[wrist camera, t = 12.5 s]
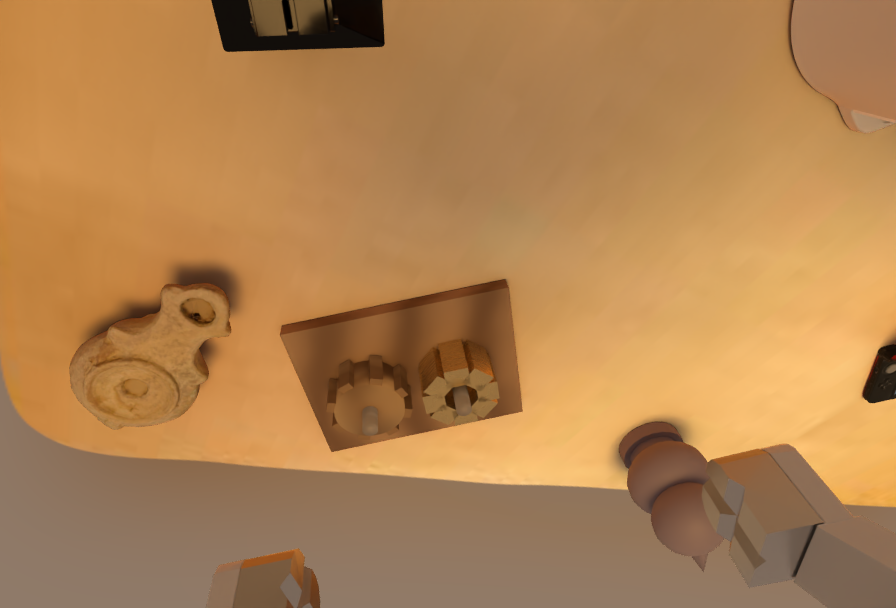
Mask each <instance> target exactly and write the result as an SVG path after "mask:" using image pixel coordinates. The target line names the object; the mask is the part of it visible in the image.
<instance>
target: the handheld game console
mask: <svg viewBox="0 0 896 608" xmlns="http://www.w3.org/2000/svg"><path fill="white" fill-rule="evenodd" d="M878 353H879V355H878V357H877V359H876V362H875V364H874V367H873V369H872V372H871V375H870V377H869V380H868V382H867V385H866V387H865V390H864V393H863V397H864V399H865V400H867V401H868V402H869V403H877V402H881V401H885V400H890V399H895V398H896V345H890V346H886V347H883V348H881V349H880V350H879V352H878Z"/></svg>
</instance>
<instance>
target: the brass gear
mask: <svg viewBox="0 0 896 608" xmlns="http://www.w3.org/2000/svg"><path fill="white" fill-rule="evenodd" d="M438 346H439V349H436V348H434V347H432V348H431V349H430V350H429V352H428V353H427V354H426V355H425V356H424V358H423V359H422V360H421V361H420V367H418V368H419V376H420V384H421V392H422V399H423V402H424V406H425V410H426V413H427V414H429V413H430V418H432V419H435V420H437V421H440V422H442V423H445V424H447V425H450V424H451V423H452V422H453V421H455V426H457V425H461V424H466V423H471V422H475V421H478V418H477V415H478V416H480V417H483V418H484V417H485V416H486V415H487V414H488V413H489V412H490V411H491V410H492V409H493V408H494V407H495V406H496V405H497V404H498V402H497V399H499V398H500V397H499V391H498V384H497V379H496V376H495V373H494V369H493V366H492V363H491V359H490V356H489V353H488V352H487V353H486V349H485V348H484V347H482V346H480V345H478V344H476V343H474V342H472V341H470V340H468V339H467V340H466V341H465V342H464V344H463V345H462V341H461V339H457V340H452V341H447V342H443V343H438ZM463 385H466V386H467V390H468V394H469V399H470V403H471V407H472V412H471V413H470V414H469V415H467V416H460V415H458V414H457V411H456V406H455V401H454V396H453V391H452V388H453V387H458V386H463Z"/></svg>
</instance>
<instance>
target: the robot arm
mask: <svg viewBox="0 0 896 608" xmlns="http://www.w3.org/2000/svg"><path fill="white" fill-rule="evenodd" d="M791 41H792V48H793V54H794V57H795V61H796V63H797V66H798V68H799V70H800V72H801V74H802V75H803V77H804V78H805V80H806V81H807V82H808V83H809V84H810V85H811V86H812V87H813V88H814V89H815V90H817V91H818V92H820V93H821V94H823V95H825V96H826V97H828V98H830V99H831V100H833V101H834V102H835V103H836V104H837V105H838V107H839V110H840V112H841V115H842V117H843V119H844V121H845V123H846V125H847V126H848V127H849V128H850V129H851V130H853V131H857V132H862V133H871V132H875V131H877V130H880V129H882V128H885V127H888V126H890V125H893V124H895V123H896V0H794V5H793V11H792V20H791ZM706 473H707V474H708V476H709V477H710V479H709V480H708V481H707V482H706V483H705V484H704V485H703V489H702V500H703V505H704V510H705V512H706V514H707V517H708V519H709V521H710V523H711V524H712V526H713V528H714V530H715V531H716V533H718V534H719V535H721V536H722V537H724V538H726V539H727V540H729V541H730V549H729V555H730V556H731V558H732V560H733V562H734V563H735V565H736V567H737V568H738V570H739V572H740V573H741V575H742V577H743V578H744V580H745V582H746V583H747V585H748V587H749V588H750V587H755V586H760V585H766V584H771V583H776V582H782V581H787V580H792V579H795V580H794V582H795V583H796V584H797V585H798V586H800V587H801V588H802V589H804V590H805V591H806V592H808V593H809V594H810V595H812V596H813V597H814V598H816V599H817V600H818V601H820V602H821V603H822V604H823V605H825V606H826V607H827V608H896V534H895V533H894V532H892V531H890V530H888V529H886V528H884V527H882V526H880V525H879V524H877V523H875V522H873V521H871V520H869V519H867V518H865V517H863V516H857V517H853V515H852V514H851V513H850V512H849V511H848V510H847V508H846V507H845V506H844V505H843V504H842V503H841V501H840V500H839V499H838V498H837V497H836V496H835V494H834V493H833V492H832V491H831V490H830V489H829V487H828V486H827V485H826V484H825V483H824V482H823V480H822V479H821V478H820V477H819V476H818V475H817V473H816V472H815V471H814V470H813V469H812V468H811V466H810V465H809V464H808V463H807V462H806V461H805V459H804V458H803V457H802V456H801V455H800V454H799V452H798V451H797V450H796V449H795V448H794V447H792V446H791V445H789V444H779V445H775V446H770V447H766V448H761V449H754V450H750V451H746V452H742V453H737V454H733V455H729V456H725V457H720V458H716V459H712V460H710V461H709V462H708V463H707V467H706ZM304 561H305V557H304V555H303V554H302V552H301V551H300V549H294V550H290V551H284V552H280V553H275V554H270V555H266V556H261V557H256V558H251V559H244V560H240V561H235V562H231V563H227V564H222V565H219V566H218V568H217V570H216V572H215V574H214V575H213V579H212V583H211V587H210V592H209V596H208V600H207V604H206V608H320V595H319V586H318V582H317V579H316V576H315V574H314V572H313V570H312V569H310V568H307V567H305V566H304Z"/></svg>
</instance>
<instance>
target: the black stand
mask: <svg viewBox="0 0 896 608" xmlns="http://www.w3.org/2000/svg"><path fill="white" fill-rule="evenodd" d="M211 1H212V5H213V9H214V13H215V17H216V21H217V25H218V29H219V33H220V37H221V41H222V45H223V48H224V50H225V51H227V52H236V51H267V50H298V49H329V48H360V47H382V46H384V44H385V42H384V25H383V7H382V0H211Z"/></svg>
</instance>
